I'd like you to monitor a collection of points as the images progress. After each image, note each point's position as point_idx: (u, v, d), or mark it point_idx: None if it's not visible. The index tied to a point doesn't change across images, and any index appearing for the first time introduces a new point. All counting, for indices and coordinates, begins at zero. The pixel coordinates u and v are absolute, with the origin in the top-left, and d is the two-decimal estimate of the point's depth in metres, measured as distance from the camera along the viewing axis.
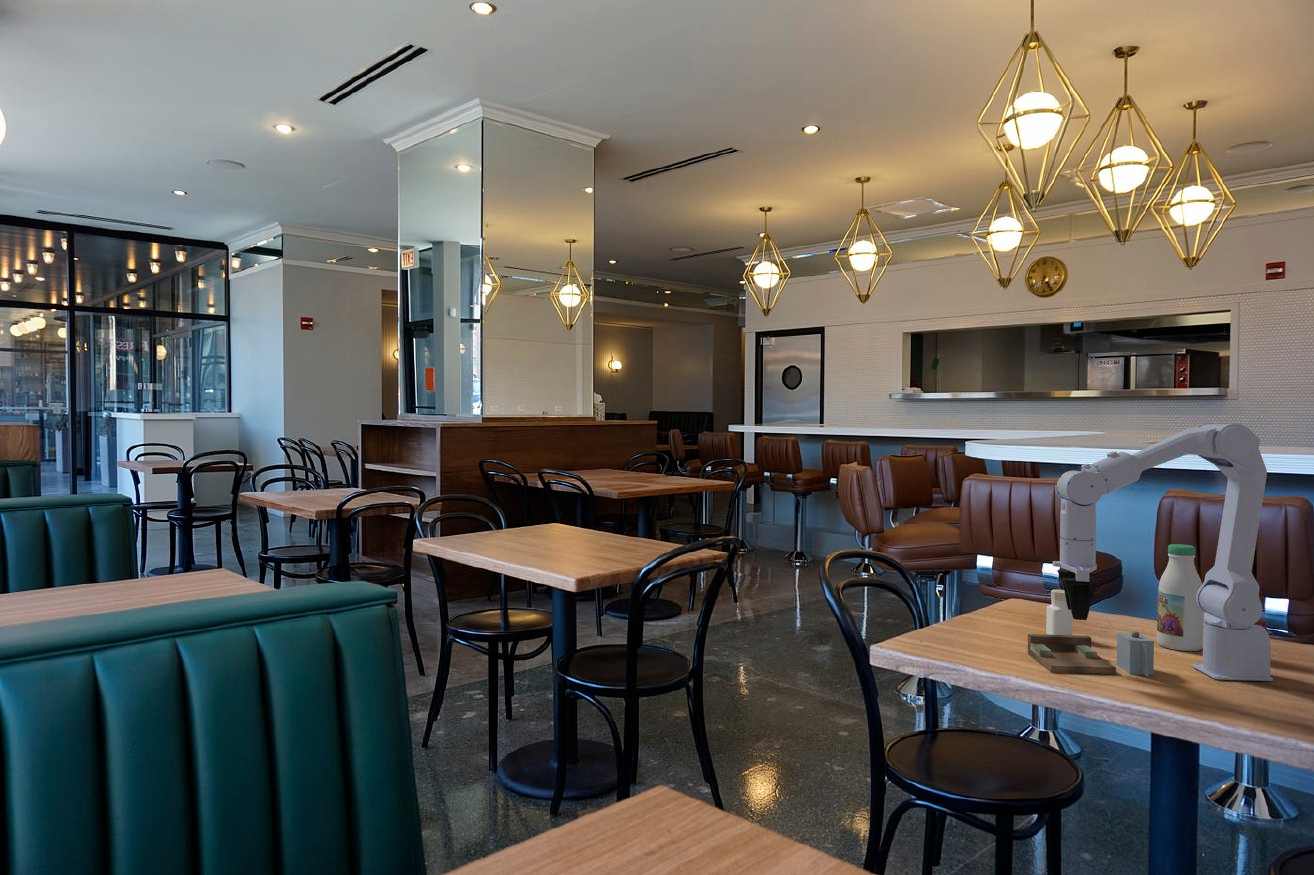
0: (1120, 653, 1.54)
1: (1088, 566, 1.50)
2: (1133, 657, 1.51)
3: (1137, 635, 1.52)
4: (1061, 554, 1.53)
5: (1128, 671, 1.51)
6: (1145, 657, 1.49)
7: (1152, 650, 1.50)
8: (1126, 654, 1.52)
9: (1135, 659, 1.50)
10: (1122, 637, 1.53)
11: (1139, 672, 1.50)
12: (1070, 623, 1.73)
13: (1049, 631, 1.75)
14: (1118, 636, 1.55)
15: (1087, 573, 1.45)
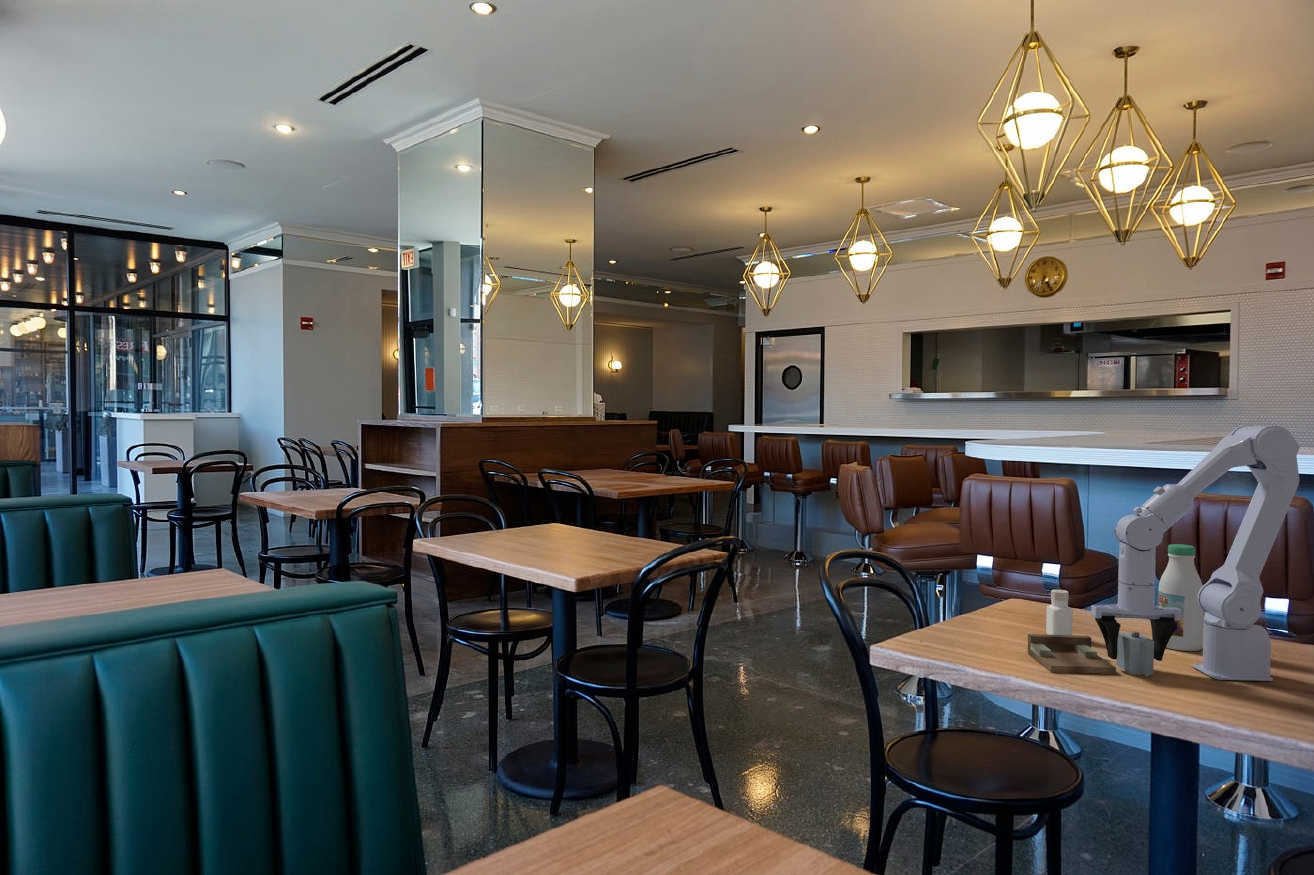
0: (1120, 653, 1.54)
1: (1124, 609, 1.51)
2: (1133, 657, 1.51)
3: (1137, 635, 1.52)
4: None
5: (1128, 671, 1.51)
6: (1145, 657, 1.49)
7: (1152, 650, 1.50)
8: (1126, 654, 1.52)
9: (1135, 659, 1.50)
10: (1122, 637, 1.53)
11: (1139, 672, 1.50)
12: (1070, 623, 1.73)
13: (1049, 631, 1.75)
14: (1118, 636, 1.55)
15: (1095, 610, 1.53)
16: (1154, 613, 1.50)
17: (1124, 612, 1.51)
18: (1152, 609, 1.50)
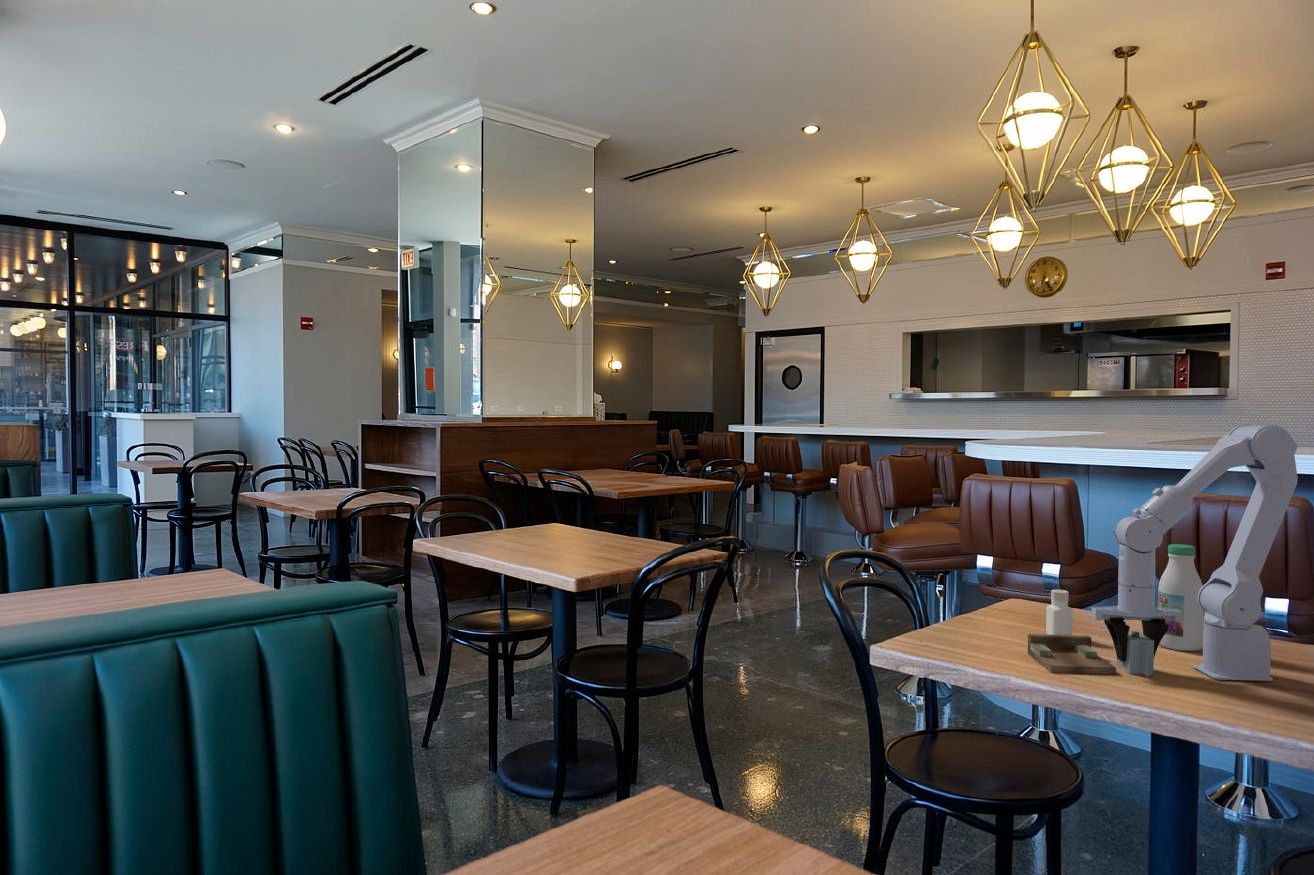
0: None
1: (1124, 611, 1.51)
2: (1133, 656, 1.50)
3: (1137, 635, 1.52)
4: None
5: (1128, 671, 1.51)
6: (1145, 657, 1.49)
7: (1152, 650, 1.50)
8: None
9: (1135, 659, 1.50)
10: None
11: (1139, 672, 1.50)
12: (1070, 623, 1.73)
13: (1049, 631, 1.75)
14: None
15: (1095, 612, 1.53)
16: (1154, 615, 1.50)
17: (1124, 614, 1.51)
18: (1152, 611, 1.50)
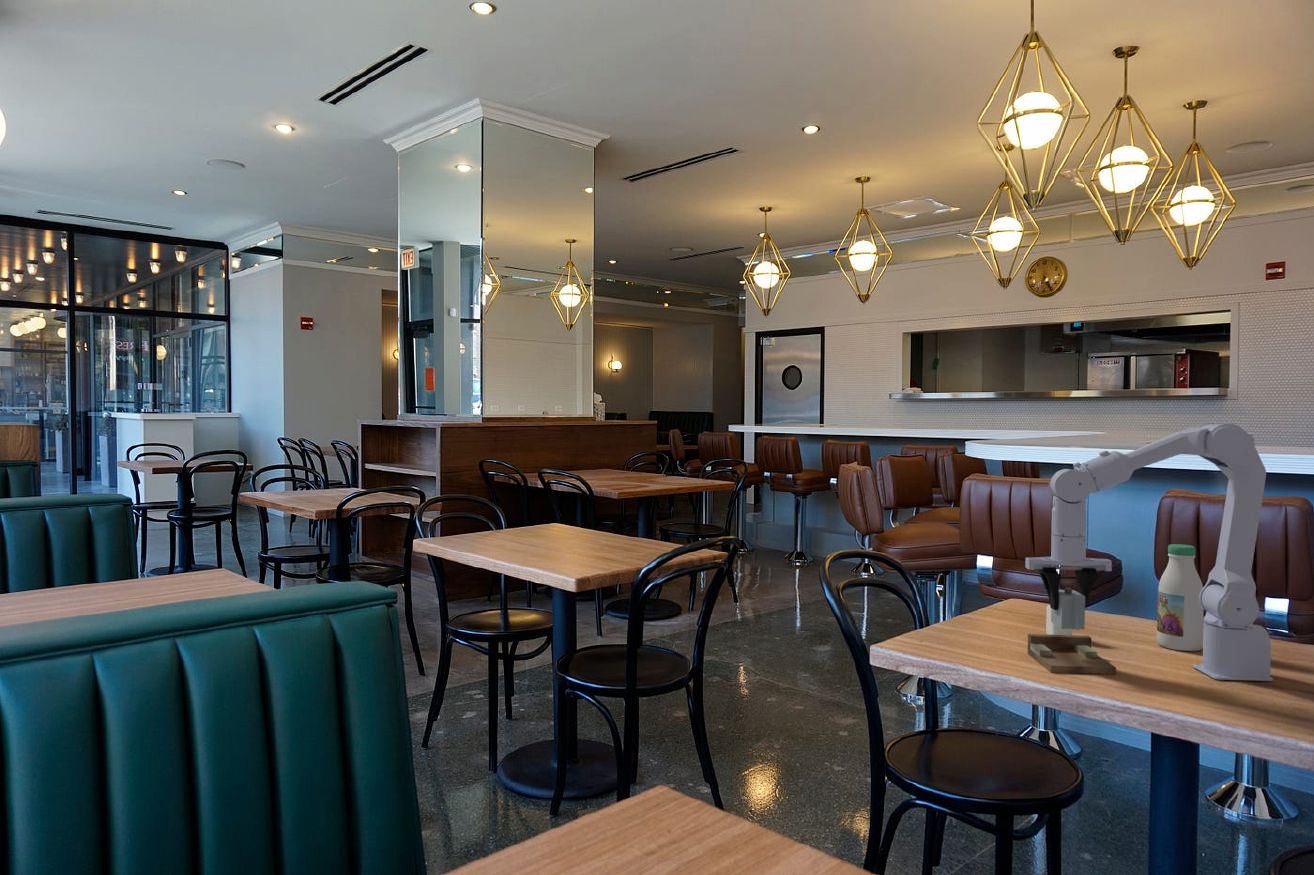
0: None
1: (1056, 560, 1.55)
2: (1065, 612, 1.54)
3: (1069, 591, 1.56)
4: None
5: (1060, 626, 1.55)
6: (1076, 612, 1.52)
7: (1083, 605, 1.54)
8: (1059, 609, 1.56)
9: (1067, 614, 1.54)
10: None
11: (1071, 626, 1.54)
12: None
13: (1049, 631, 1.75)
14: None
15: (1028, 561, 1.57)
16: (1085, 564, 1.54)
17: (1056, 563, 1.55)
18: (1083, 560, 1.54)
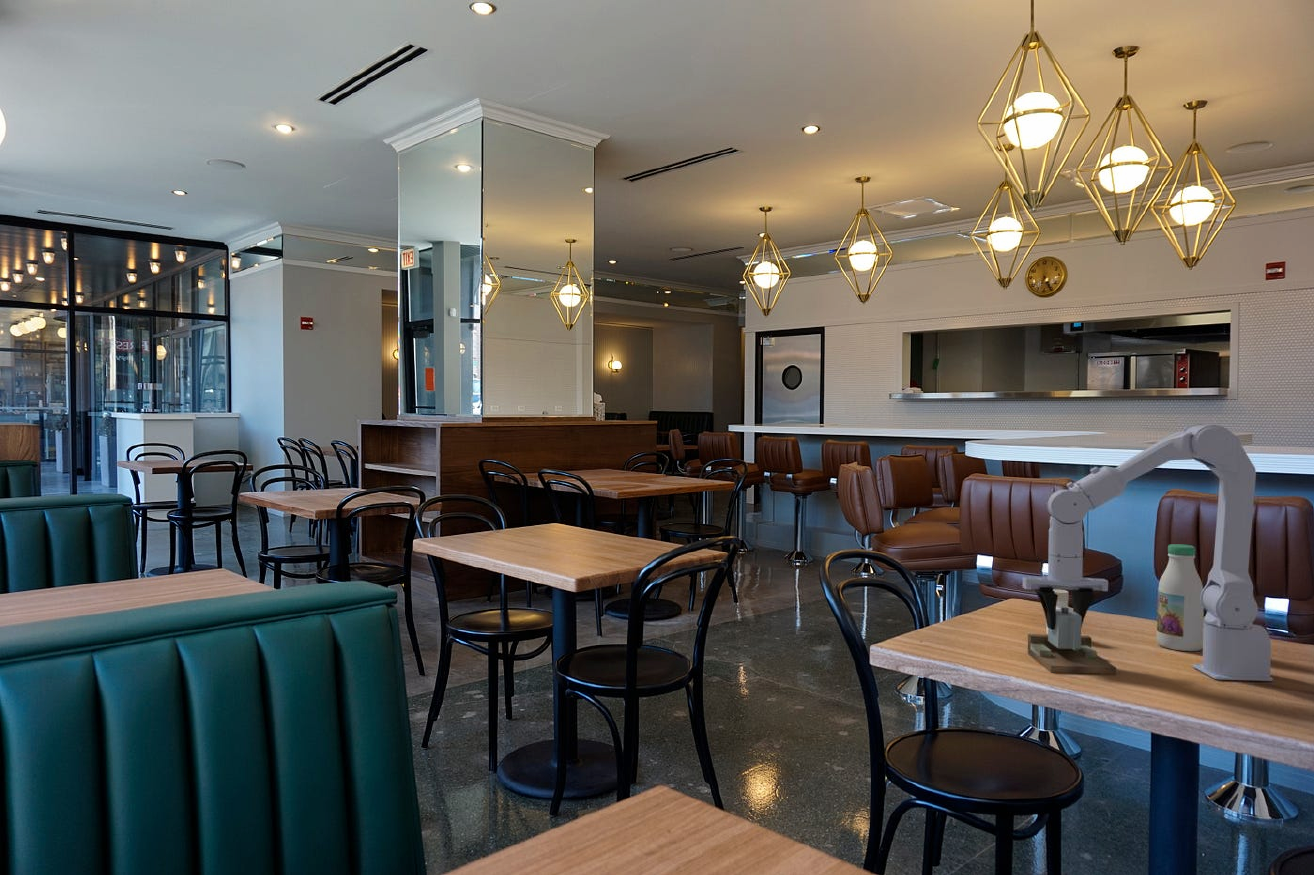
0: None
1: (1053, 580, 1.57)
2: (1061, 631, 1.56)
3: (1066, 611, 1.57)
4: None
5: (1057, 645, 1.56)
6: (1072, 632, 1.54)
7: (1080, 625, 1.55)
8: (1056, 629, 1.57)
9: (1063, 634, 1.56)
10: None
11: (1067, 646, 1.56)
12: None
13: None
14: None
15: (1025, 581, 1.58)
16: (1081, 584, 1.55)
17: (1053, 583, 1.56)
18: (1079, 580, 1.56)
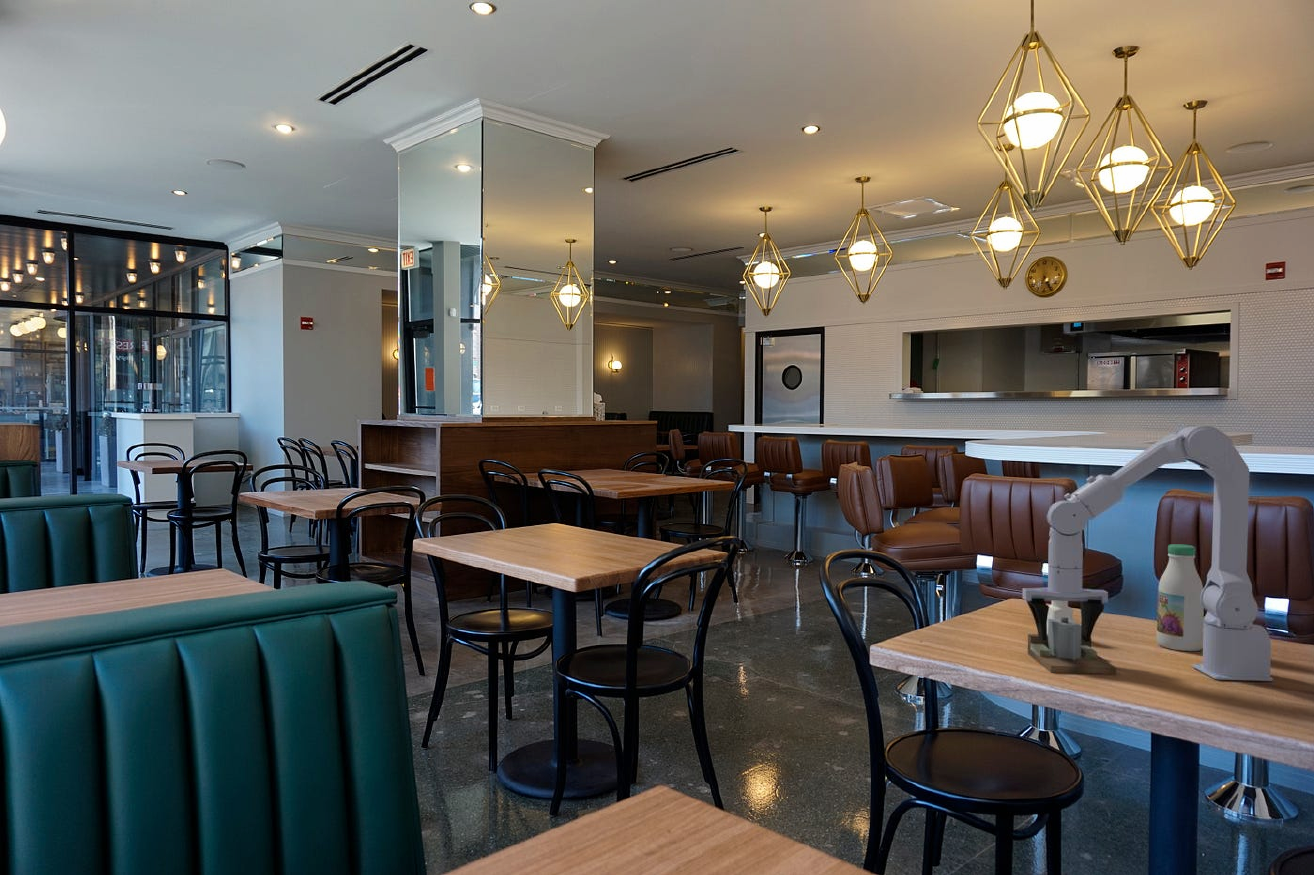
0: (1050, 638, 1.60)
1: (1052, 591, 1.57)
2: (1061, 641, 1.56)
3: (1066, 620, 1.58)
4: None
5: (1057, 655, 1.56)
6: (1072, 641, 1.54)
7: (1079, 635, 1.56)
8: (1055, 638, 1.57)
9: (1063, 644, 1.56)
10: (1052, 622, 1.59)
11: (1067, 656, 1.56)
12: None
13: None
14: (1049, 622, 1.60)
15: (1025, 592, 1.58)
16: (1081, 595, 1.56)
17: (1052, 594, 1.56)
18: (1079, 591, 1.56)
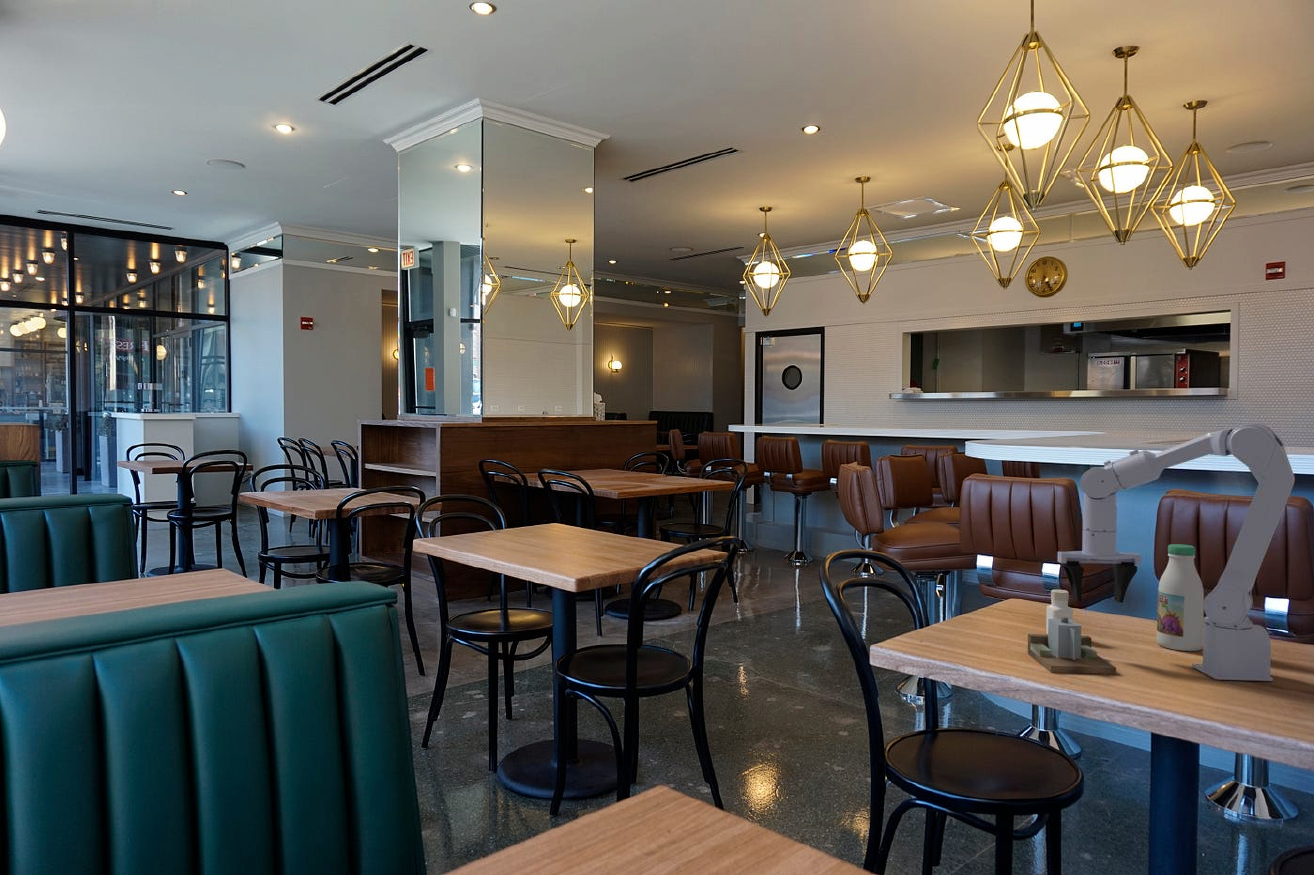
0: (1050, 638, 1.60)
1: (1087, 554, 1.62)
2: (1061, 641, 1.56)
3: (1066, 620, 1.58)
4: None
5: (1057, 655, 1.56)
6: (1072, 641, 1.54)
7: (1079, 635, 1.56)
8: (1055, 638, 1.57)
9: (1063, 644, 1.56)
10: (1052, 622, 1.59)
11: (1067, 656, 1.56)
12: None
13: None
14: (1049, 622, 1.60)
15: (1060, 555, 1.63)
16: (1115, 557, 1.61)
17: (1087, 557, 1.62)
18: (1113, 554, 1.61)
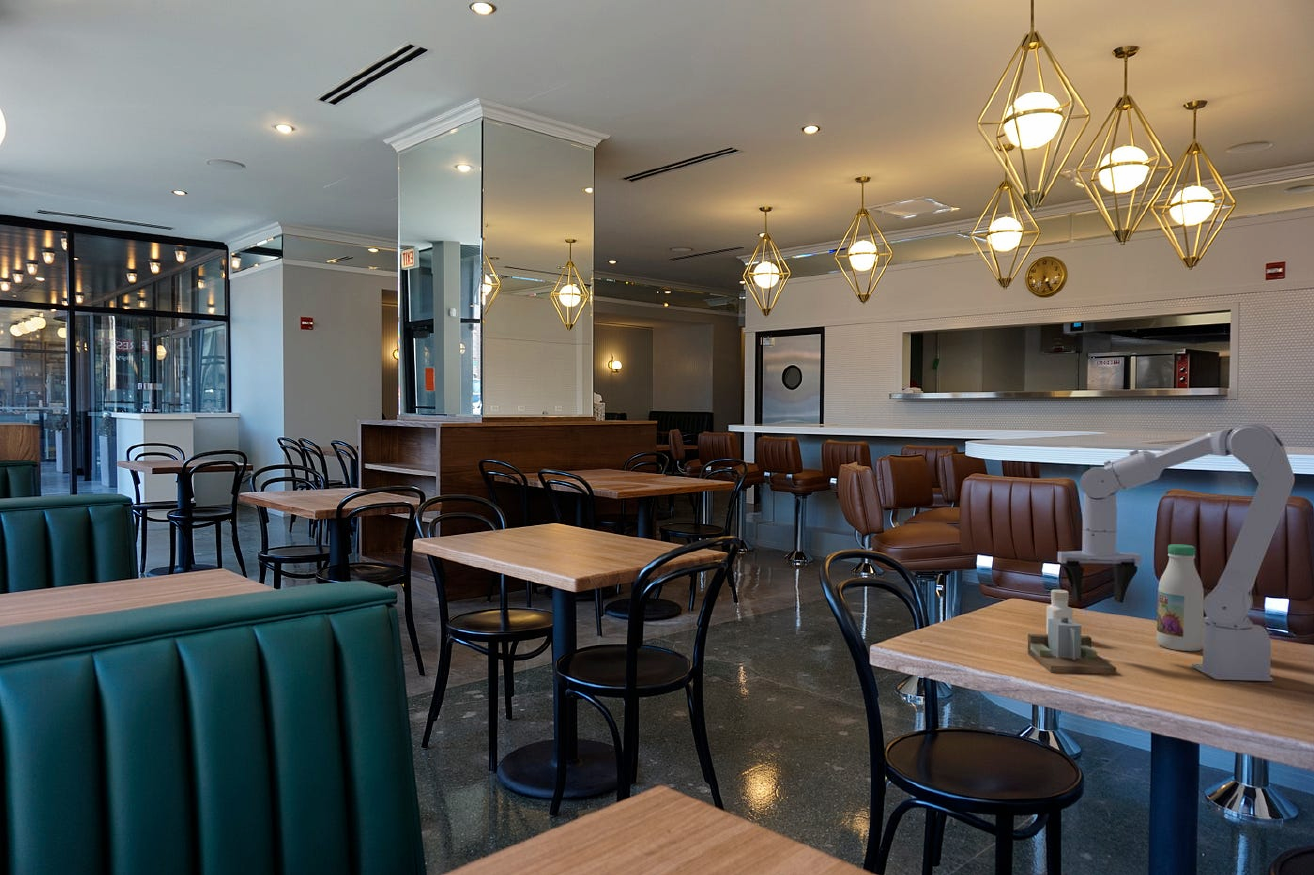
0: (1050, 638, 1.60)
1: (1087, 554, 1.62)
2: (1061, 641, 1.56)
3: (1066, 620, 1.58)
4: None
5: (1057, 655, 1.56)
6: (1072, 641, 1.54)
7: (1079, 635, 1.56)
8: (1055, 638, 1.57)
9: (1063, 644, 1.56)
10: (1052, 622, 1.59)
11: (1067, 656, 1.56)
12: None
13: None
14: (1049, 622, 1.60)
15: (1060, 555, 1.63)
16: (1115, 557, 1.61)
17: (1087, 557, 1.62)
18: (1113, 554, 1.61)
